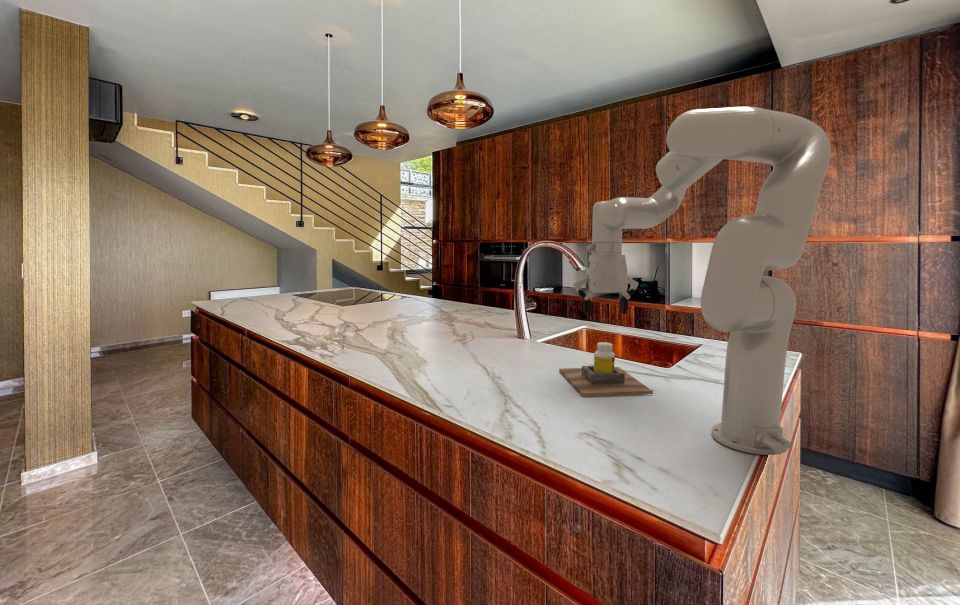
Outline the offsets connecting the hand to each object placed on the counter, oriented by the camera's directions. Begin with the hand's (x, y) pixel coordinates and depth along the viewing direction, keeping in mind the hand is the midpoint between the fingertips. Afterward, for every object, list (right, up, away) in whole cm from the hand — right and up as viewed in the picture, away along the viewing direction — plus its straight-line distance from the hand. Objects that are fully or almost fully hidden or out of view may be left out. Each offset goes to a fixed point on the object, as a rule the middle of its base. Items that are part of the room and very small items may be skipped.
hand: (605, 314), depth 120 cm
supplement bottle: (0, -18, +3) cm, 18 cm away
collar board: (0, -19, +3) cm, 19 cm away
